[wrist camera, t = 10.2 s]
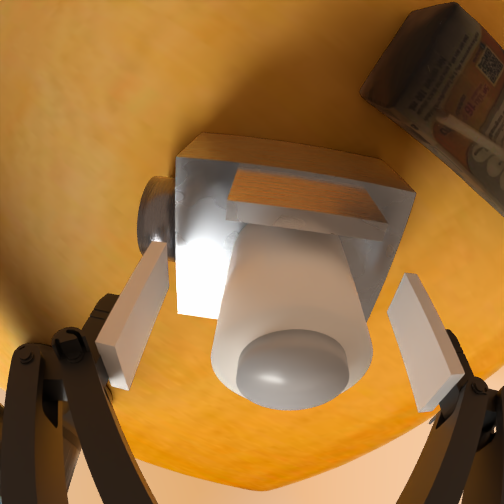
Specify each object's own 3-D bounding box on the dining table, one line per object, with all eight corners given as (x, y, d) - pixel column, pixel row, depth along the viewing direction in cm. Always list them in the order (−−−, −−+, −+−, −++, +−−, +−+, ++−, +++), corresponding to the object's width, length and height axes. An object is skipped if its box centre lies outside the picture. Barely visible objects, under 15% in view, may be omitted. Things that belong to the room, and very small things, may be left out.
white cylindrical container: (229, 297, 19) (208, 414, 12) (235, 202, 15) (206, 314, 9) (329, 306, 19) (346, 422, 12) (354, 217, 15) (403, 330, 9)
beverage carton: (509, 230, 22) (548, 273, 16) (349, 95, 18) (381, 107, 12) (551, 165, 18) (597, 196, 12) (404, 5, 14) (453, -12, 8)
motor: (167, 256, 25) (122, 353, 16) (166, 130, 19) (90, 182, 11) (346, 279, 25) (372, 381, 16) (381, 159, 19) (451, 231, 11)
